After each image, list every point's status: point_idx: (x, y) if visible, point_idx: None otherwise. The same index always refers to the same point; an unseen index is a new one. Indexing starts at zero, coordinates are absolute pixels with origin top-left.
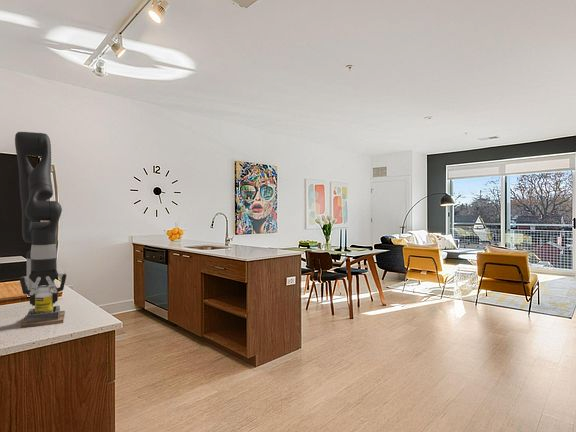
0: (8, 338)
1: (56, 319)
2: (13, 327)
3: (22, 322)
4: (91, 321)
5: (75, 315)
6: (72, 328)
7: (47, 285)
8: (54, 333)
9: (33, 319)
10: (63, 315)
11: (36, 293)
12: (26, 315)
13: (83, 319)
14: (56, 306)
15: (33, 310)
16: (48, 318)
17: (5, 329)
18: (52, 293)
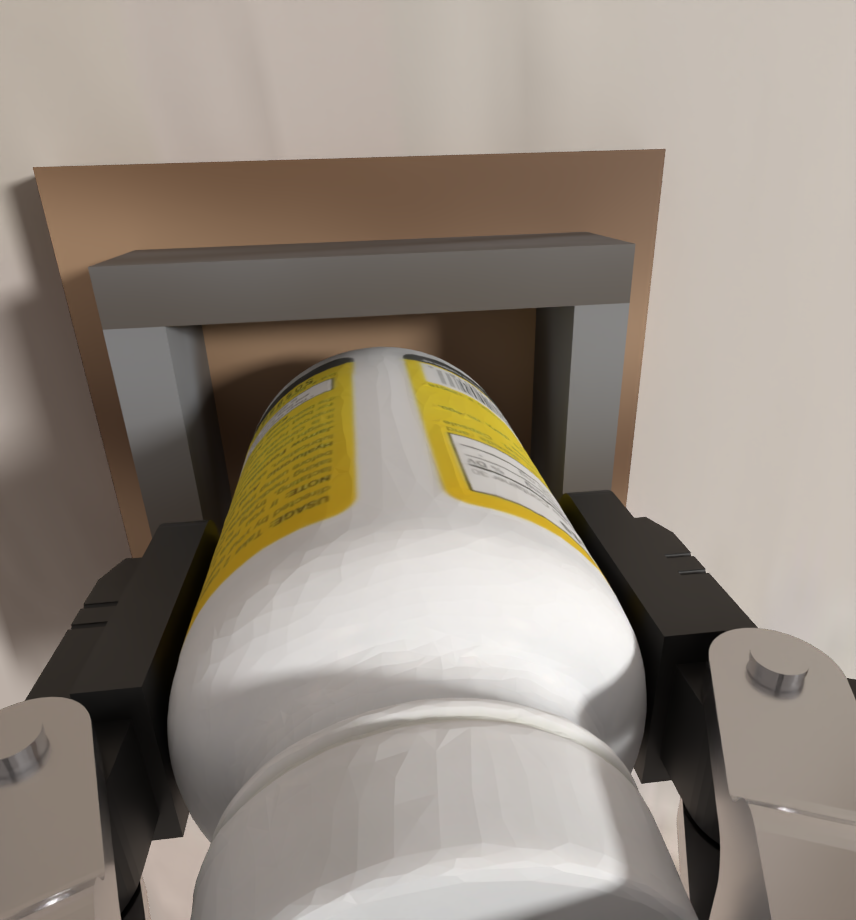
0: (170, 872)
1: None
2: (74, 595)
3: None
4: (851, 658)
5: (760, 355)
6: (663, 789)
7: (587, 913)
8: None
9: None
10: (626, 451)
11: (207, 818)
12: (59, 201)
13: (803, 567)
14: (574, 285)
15: (177, 322)
16: None
17: (8, 636)
18: (634, 763)
